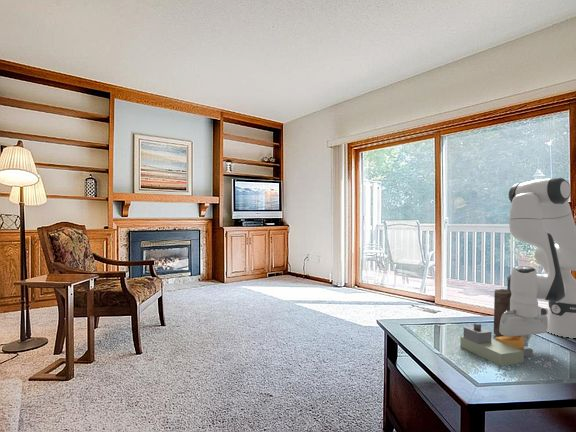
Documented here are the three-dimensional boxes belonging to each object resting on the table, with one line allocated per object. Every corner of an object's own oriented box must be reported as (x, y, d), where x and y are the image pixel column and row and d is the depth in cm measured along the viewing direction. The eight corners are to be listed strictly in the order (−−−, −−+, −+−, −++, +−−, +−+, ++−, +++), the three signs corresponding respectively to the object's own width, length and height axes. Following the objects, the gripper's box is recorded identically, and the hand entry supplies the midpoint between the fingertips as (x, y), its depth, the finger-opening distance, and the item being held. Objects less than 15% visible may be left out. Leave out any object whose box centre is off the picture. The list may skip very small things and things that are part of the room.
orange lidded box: (511, 348, 134) (511, 332, 134) (523, 353, 129) (523, 337, 129) (495, 350, 131) (495, 334, 131) (506, 355, 126) (506, 339, 126)
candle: (517, 341, 141) (517, 292, 141) (497, 340, 143) (497, 291, 143) (509, 335, 149) (509, 288, 149) (490, 333, 150) (490, 287, 150)
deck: (500, 342, 140) (501, 317, 140) (545, 359, 123) (545, 331, 123) (460, 346, 134) (460, 320, 134) (500, 366, 117) (501, 336, 117)
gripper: (510, 313, 125) (509, 351, 125) (551, 310, 131) (551, 346, 131) (495, 309, 131) (494, 345, 131) (535, 305, 137) (535, 340, 137)
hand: (523, 346), depth 131 cm, fingers closed
